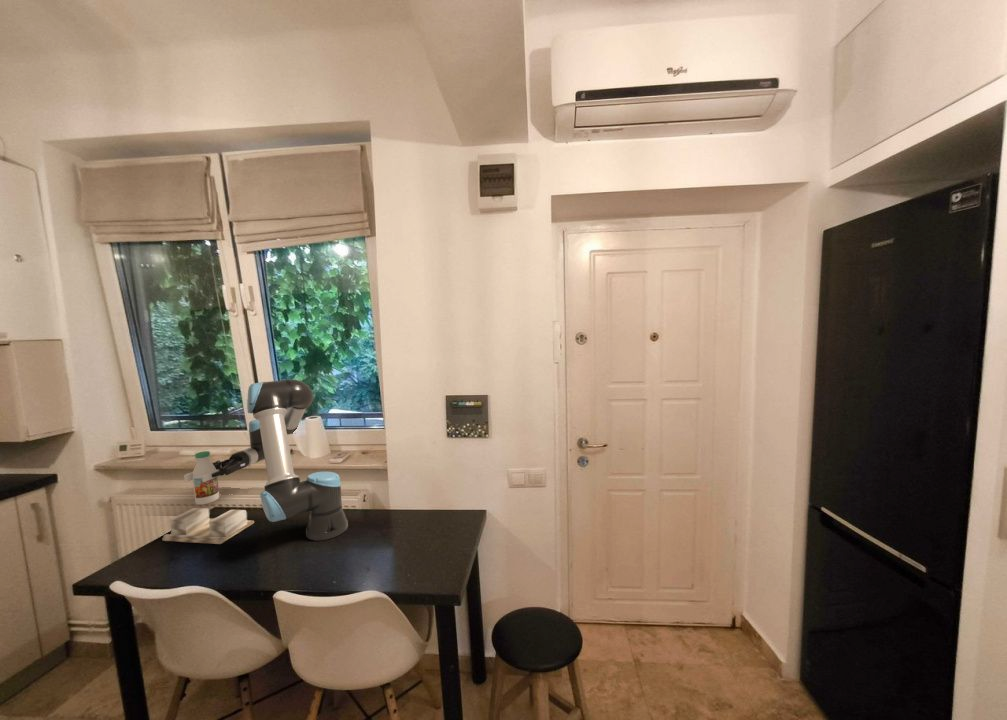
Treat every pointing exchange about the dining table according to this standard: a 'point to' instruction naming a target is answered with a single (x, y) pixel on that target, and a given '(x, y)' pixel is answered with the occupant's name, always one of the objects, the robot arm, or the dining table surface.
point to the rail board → (207, 526)
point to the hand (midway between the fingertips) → (194, 478)
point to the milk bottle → (208, 489)
